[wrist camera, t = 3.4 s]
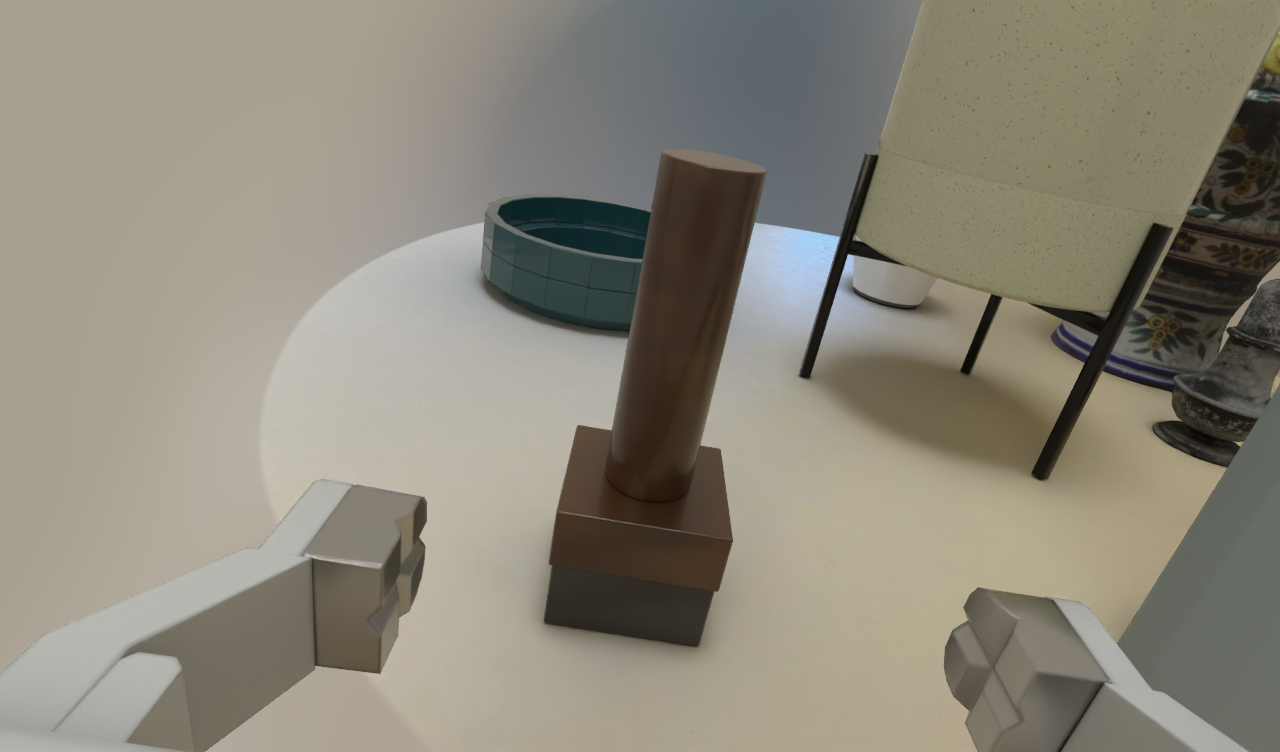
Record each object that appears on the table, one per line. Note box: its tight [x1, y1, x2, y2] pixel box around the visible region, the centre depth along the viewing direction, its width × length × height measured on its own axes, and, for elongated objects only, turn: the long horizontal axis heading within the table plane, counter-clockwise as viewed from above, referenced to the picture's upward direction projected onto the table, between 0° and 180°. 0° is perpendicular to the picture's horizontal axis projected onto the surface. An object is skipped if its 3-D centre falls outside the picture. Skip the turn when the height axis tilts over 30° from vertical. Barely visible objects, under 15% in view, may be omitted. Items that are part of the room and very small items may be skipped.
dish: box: [481, 195, 651, 330], centre depth 51 cm, size 17×17×5 cm
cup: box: [853, 236, 937, 308], centre depth 62 cm, size 10×10×9 cm
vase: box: [1051, 31, 1280, 391], centre depth 53 cm, size 17×17×30 cm
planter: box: [800, 0, 1280, 480], centre depth 39 cm, size 15×16×23 cm
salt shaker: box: [1153, 279, 1280, 466], centre depth 42 cm, size 6×6×12 cm
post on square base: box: [544, 148, 767, 646], centre depth 21 cm, size 5×5×14 cm
